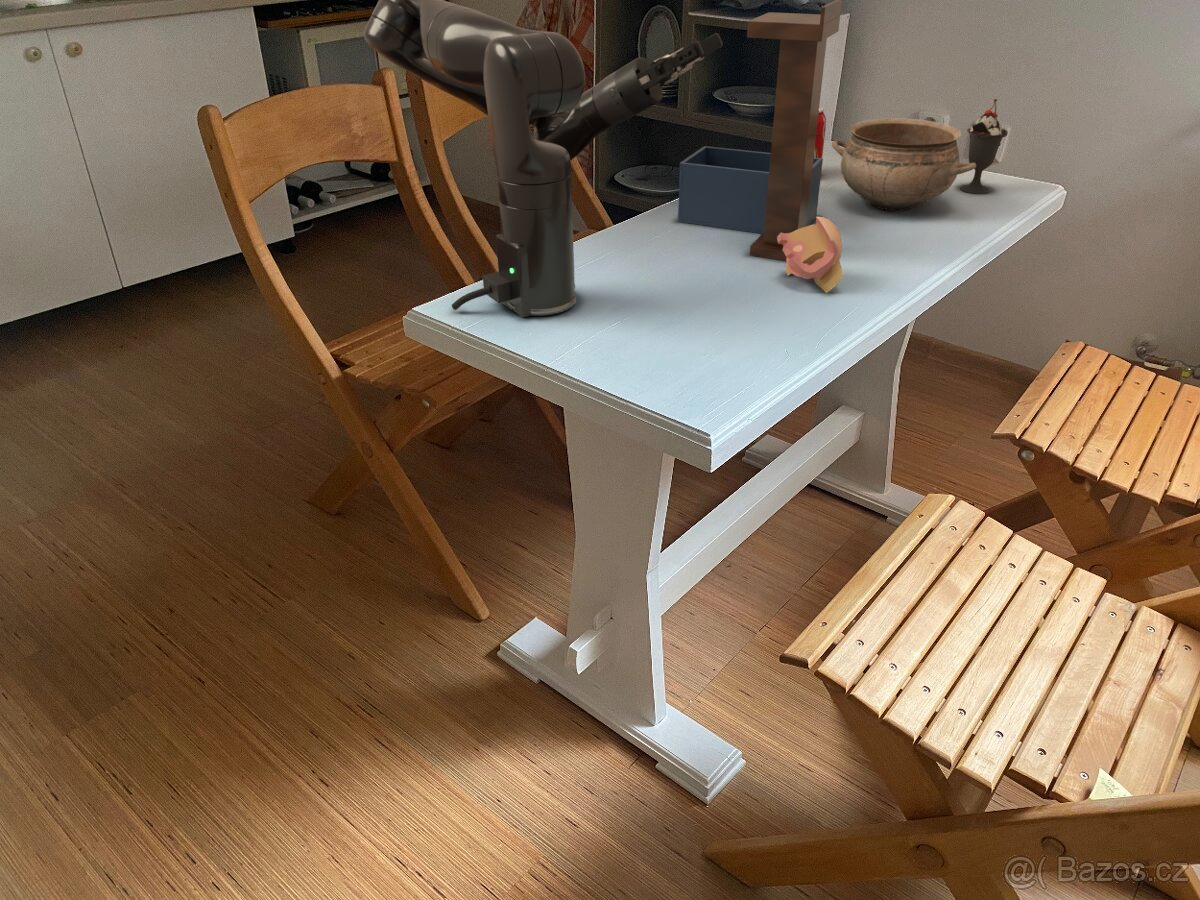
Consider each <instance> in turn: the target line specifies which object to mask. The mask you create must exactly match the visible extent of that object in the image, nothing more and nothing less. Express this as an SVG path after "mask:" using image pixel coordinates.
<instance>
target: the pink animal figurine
mask: <svg viewBox="0 0 1200 900" xmlns="http://www.w3.org/2000/svg"><path fill="white" fill-rule="evenodd" d="M777 240H778V244H782V245H783V252H784V254H785V255H786V257H787V259H786V261H785V262H786V265H784V269H785V273H786V275H787V276H790V275H793V276H796V277H799V278H803V279H805V280H811V279H812V280H813V281H814V283H815V284H816V285H817V286H818V287H819V288H820V289H821V290H823V292H825V294H828V293H829V292H830V291H831V290H832V289H834V288H835V287H836V286H837V285H838V284H839V283H840V281H841V280H842V278H843V277H844V274H843V267H842V265H841V261H840V260H841V257H842V252H843V250H842V249H843V241H842V236H841V234H840V231H839V229H838V227H837V225H835V223H833V221H832V220H830V219H828V218H827V217H823V216H816V218H815V223H813V224H810V225H809V226H806V227H803V228H800V229H797V230H795V231H794V232H791V233H780V234H779V235H778V236H777Z"/></svg>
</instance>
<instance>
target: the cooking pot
mask: <svg viewBox="0 0 1200 900" xmlns="http://www.w3.org/2000/svg"><path fill="white" fill-rule="evenodd" d="M849 131H850V133H851V137H850V138H849V140H848V142H846V141H844V140H842V139H835V140H833V141H832V143H831V147H832V148H833V150H835V151H836V153H837V154H838V155H839V156H841V162H840V170H841V174H842V176H843V177H842V178H843V179H844V182H845V183H846V185H847V186H848V187H849V188H850V189H851V190H852V191H853V192H854V193H855V194H857V195H858V196H860V197H861V198H863V199H864V200H866V201H868V202H869V203H871V204H872V205H873V206H874V207H876V208H878V209H882V210H887V211H898V212H899V211H907V210H911V209H912V208H914V207H917V206H919V205H921V204H924V203H926V202H929V201H932V200H933V199H936V198H938V197H939V196H941V195H942V194H943V193H944V192H946V191H947V190H949V189H950V188H951V186H952V185H953V183H954V181H955V180H956V179H957V177H958V175H962V174H964V173H967V172H970V171H973V170H975V168H976V164H975V163H969V162H968V163H961V162H960V152H959V147H958V143H957V140H959V139H960V138H961V136H962V132H961V131H960V130H959V129H957V128H956V127H954V126H952V125H948V124H946V123H942V122H938V121H934V120H933V121H931V120H925V119H919V118H917V119H916V118H900V117H888V118H886V117H885V118H873V119H866V120H862V121H858V122H856V123H854V124H852V125H851V126H849Z"/></svg>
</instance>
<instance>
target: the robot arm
mask: <svg viewBox="0 0 1200 900" xmlns="http://www.w3.org/2000/svg"><path fill="white" fill-rule="evenodd" d="M364 28H365V29H364V31H363V38H364V40H365V42H366V43H367V44H368V46H369V47H371V48H372V49H373V51H375V52H376V53H377V54H379V55H380V56H381V57H383V58H384V59H386V60H387V61H389V62H391V63H392V64H394V65H396V66H397V67H399V68H400V69H403V70H404V71H406V72H408V73H410V74H411V75H413V76H415V77H417V78H418V79H420V80H422V81H423V82H426V83H427V84H429V85H431V86H433V87H435V88H437V89H439V90H441V91H443V92H445V93H446V94H449V95H450V96H453V97H455V98H457V99H458V100H461V101H463V102H465V103H466V104H468V105H470V106H472V107H473V108H475V109H477V110H478V111H479V112H482V113H483V115H486V116H487V117H488V125H489V133H490V143H491V149H492V153H493V157H494V162H495V166H496V167H495V168H496V178H497V191H498V192H497V193H498V204H499V216H500V229H501V233H499V234H496V236H495V244H496V256H497V257H496V258H497V265H498V268H497V269H498V271H495V272H491V273H487V274H484V275H482V285H483V286H482V287H483V288H479V289H476V290H473V291H470V292H468V293H466V294H464V295H462V296H461V297H459V298H458V299H457V300H455V301H454V302H453V303H452V304H451V308H452V309H453V310H454V311H457V310H458V309H459V308H461V307H462V306H463V305H464V304H466V303H468V302H470V301H472V300H474V299H475V300H476V299H478V298H480V297H484V296H487V297H489V298H490V299H492V300H493V301H494V302H496V303H498V304H503V305H504V306H506V308H509V310H511V311H513V312H514V313H516V314H517V315H519V316H520V317H522V318H526V317H527V318H528V317H533V316H534V317H536V316H537V317H538V316H539V317H542V316H551V315H557V314H560V313H563V312H566V311H568V310H570V309H572V308H573V307H574V306H575V305H576V303H577V292H576V281H575V280H576V277H575V252H574V226H573V225H574V224H573V222H574V221H573V220H574V219H573V196H572V194H573V193H572V191H573V190H572V168H571V166H572V165H571V163H572V161H573V160H574V159H575V158H576V157H577V156H578V155H580V153H581V152H582V151H584V150H585V149H586V148H587V147H588V145H589V144H591V143H592V141H593V140H594V139H595V138H596V137H597V136H598V135H600V134H602V133H604V132H605V131H607V130H609V129H610V128H612V127H615V126H617V125H618V124H621V123H624V122H627V121H628V120H630V119H632V118H634V117H635V116H637V115H639V114H640V113H642V112H645V111H646V110H648V109H649V108H651V107H653V106H655V105H656V104H658V103H660V102H661V100H662V98H663V95H664V94H663V93H664V92H663V86H666V85H667V84H670V83H672V82H673V81H675V80H677V79H678V77H679V76H681V75H683V74H686V73H687V72H688V71H690V70H691V69H693V66H694V65H695V64H697V63H699V62H702V61H704V59H705V58H706V57H707V56H709V55H710V54H712V53H714V52H716V51H717V50H719V49H720V48H722V47H723V45H724V43H723V40H722V38H721V36H720V34H719V33H717V32H715V33H713V34H711V35H709V36H708V37H706V38H705V39H703V40H702V41H700V42H699V41H698V40H697V41H694V42H692V43H691V44H689V45H687V46H686V47H681V48H679V49H677V50H676V51H673V52H671V53H670V54H668V53H667V54H665V55H663V56H662V57H658V58H656V59H654V60H653V61H651V62H650V61H649V60H648V59H647V58H644V57H636V58H634V59H633V60H631V61H630V62H628V63H626V64H625V65H623V66H621V67H620V68H618V69H617V70H615V71H614V72H612V73H610V74H609V75H607V76H605V77H604V78H602V80H601V81H599V82H598V83H597V84H595V85H594V86H592V87H590V88H588V89H587V90H586V91H584V89H585V87H586V86H585V85H586V71H585V66H584V63H583V60H582V57H581V55H580V53H579V51H578V49H577V48H576V47H575V45H574V44H573V43H572V41H570V40H569V39H568V38H567V37H566V36H564V35H563V34H560V33H558V32H555V31H544V30H534V29H527V28H523V27H519V26H517V25H515V24H511V23H510V22H507V21H504V20H502V19H500V18H496V17H494V16H491V15H488V14H486V13H484V12H481V11H479V10H477V9H474V8H470V7H467V6H464V5H461V4H457V3H453V2H449V1H446V0H378V1H377V4H376V6H375V7H374V9H373V11H372V13H371V16H370V18H369V19H368V21H367V23H366V25H365V27H364ZM425 57H426V58H425ZM531 126H532V127H533V135H532V131H531Z"/></svg>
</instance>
